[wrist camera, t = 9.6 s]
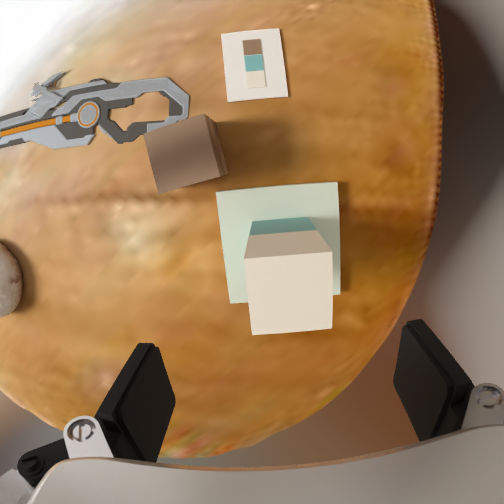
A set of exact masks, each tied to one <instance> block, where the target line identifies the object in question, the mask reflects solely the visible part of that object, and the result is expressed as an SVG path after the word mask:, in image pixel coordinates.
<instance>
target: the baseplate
mask: <svg viewBox="0 0 504 504" xmlns="http://www.w3.org/2000/svg"><path fill="white" fill-rule="evenodd" d="M216 197H217V205H218V214H219V222H220V230H221V238H222V246H223V254H224V261H225V269H226V276H227V284H228V291H229V298H230V303H245V302H248V294H247V285H246V276H245V267H244V255H245V250H246V246H247V241H248V236H249V234H250V229H251V225H252V221H261V220H273V219H285V218H298V217H308V218H309V219H310V221H311V222H312V224H313V225H314V226H315V228H316V229H317V231H318V232H319V234H320V235H321V236H322V238H323V239H324V241H325V242H326V243H327V245H328V246H329V248H330V249H331V250H332V260H333V295H338V294H340V223H339V199H338V182H318V183H303V184H289V185H276V186H264V187H253V188H243V189H233V190H223V191H217V192H216Z"/></svg>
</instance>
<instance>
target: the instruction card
mask: <svg viewBox="0 0 504 504" xmlns="http://www.w3.org/2000/svg"><path fill="white" fill-rule="evenodd" d="M221 38H222V48H223V58H224V69H225V79H226V89H227V99H228V102H236V101H245V100H254V99H266V98H279V97H288V91H287V82H286V74H285V67H284V59H283V52H282V45H281V38H280V31H279V29H263V30H251V31H242V32H233V33H225V34H221Z"/></svg>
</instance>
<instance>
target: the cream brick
mask: <svg viewBox="0 0 504 504" xmlns="http://www.w3.org/2000/svg"><path fill="white" fill-rule="evenodd" d="M244 267H245V276H246V285H247V294H248V303H249V312H250V320H251V329H252V335H260V334H275V333H288V332H300V331H310V330H321V329H330V328H332V306H333V260H332V250H331V249H330V248H329V246H328V245H327V243H326V242H325V241H324V239H323V238H322V236H321V235H320V234H319V232H318V231H317V230H311V231H298V232H285V233H272V234H260V235H249V236H248V241H247V246H246V250H245V255H244Z"/></svg>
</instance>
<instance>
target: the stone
mask: <svg viewBox="0 0 504 504" xmlns="http://www.w3.org/2000/svg"><path fill="white" fill-rule="evenodd" d="M22 289H23V279H22V272H21V269H20V267H19V264H18V262H17V260H16V259H15V257H14V256H13V255H12V254H11V253H10V252H9V250H8V249H7V248H6V247H5V246H4V245H2V244H0V317H3V316H6V315H8V314H10V313H11V312H12V311H13V310H14V309H15V308H16V307H17V305H18V304H19V301H20V298H21V295H22Z"/></svg>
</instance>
